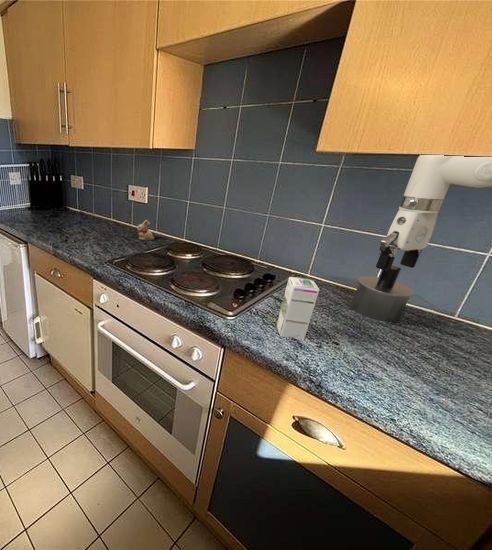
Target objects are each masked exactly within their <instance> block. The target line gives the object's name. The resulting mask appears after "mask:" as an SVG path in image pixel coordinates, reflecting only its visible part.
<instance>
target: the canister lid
mask: <svg viewBox="0 0 492 550" xmlns="http://www.w3.org/2000/svg"><path fill="white" fill-rule="evenodd" d="M401 270H402V268H401V267H398V266H395V265H392V266H391V268H390V271H384V270H381V272H380V275H379V276H370V275H369V276H366V275H365V276H360V277H358V278H357V281H356V282H357V284H358V285H359V284H360V285H361V286H362V287H364V288H366V289H368V290H371V291H374V292H376V293H380V294H383V295H388V296H393V297H401V298H407V297H409V298H412V297H413V296H414V295H415V291H414V289H413V288H411V287H410V286H407V285H405V284H403V283H401V282H398V281H397V280H398V278H399V275H400V273H401Z"/></svg>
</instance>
